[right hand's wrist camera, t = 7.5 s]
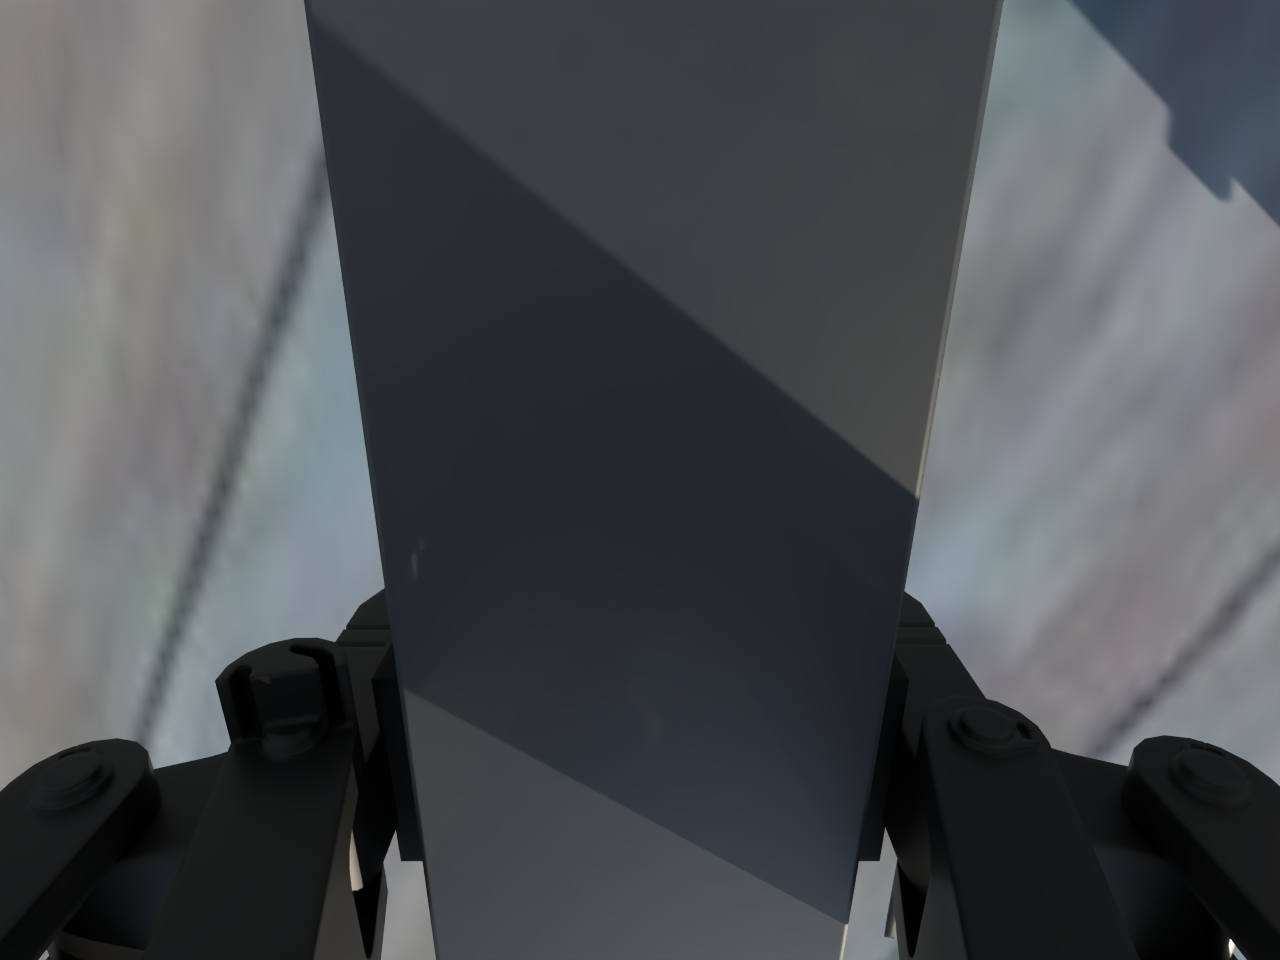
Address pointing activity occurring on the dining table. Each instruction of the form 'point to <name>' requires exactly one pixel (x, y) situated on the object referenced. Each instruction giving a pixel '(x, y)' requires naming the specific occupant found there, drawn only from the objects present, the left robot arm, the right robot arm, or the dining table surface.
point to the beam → (647, 437)
